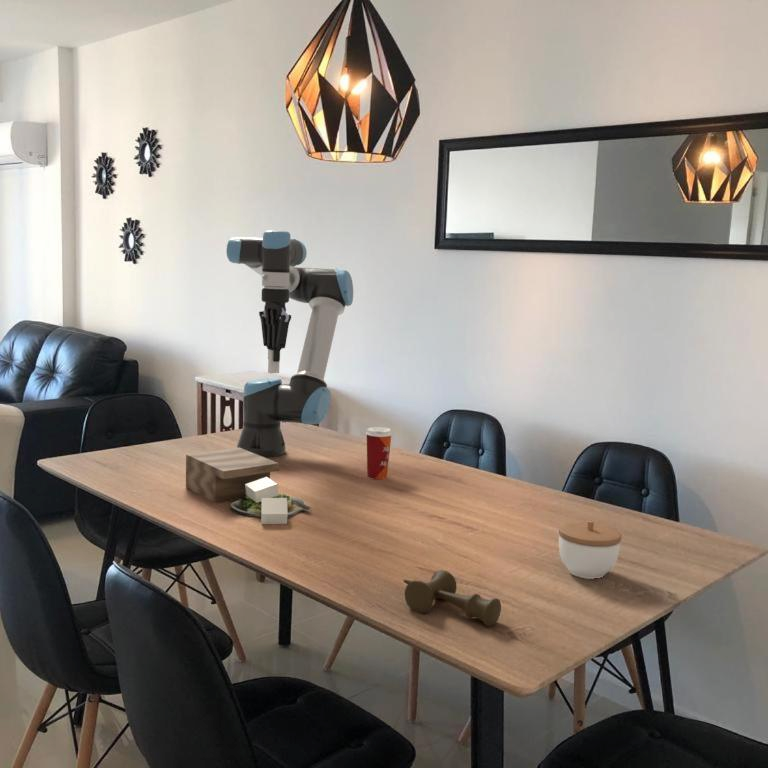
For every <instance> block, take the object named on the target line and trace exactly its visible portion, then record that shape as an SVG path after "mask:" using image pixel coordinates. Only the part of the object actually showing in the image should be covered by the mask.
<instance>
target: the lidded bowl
mask: <svg viewBox="0 0 768 768" xmlns="http://www.w3.org/2000/svg"><path fill="white" fill-rule="evenodd" d="M622 535H623V534H622V533H621V532H620V531H619V530H618V528H615V527H613V526H610V525H608V524H604V523H600V522H595V521H593V520H588V521H586V520H584V521H582V520H573V521H568V522H564V523H562V524H561V525H560V526H559V527H558V550H559V557H560V559H561V561H562V562H563V565H564V566H565V567H566V568H567V569H568V572H569V574H571V575H573V577H574V576H575V577H576V578H582V579H586V580H595V579H594V578H599V579H601V578H600V577H602V578H604V577H605V575H606V574H607V573H609V572H610V571H611V570H612V569H613V568H614V566H615V565H616V563H617V561H618V557H619V554H620V550H621V549H620V547H621V541H622ZM603 576H604V577H603Z"/></svg>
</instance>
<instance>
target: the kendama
mask: <svg viewBox="0 0 768 768" xmlns="http://www.w3.org/2000/svg"><path fill="white" fill-rule="evenodd" d="M431 576H432V577H431V578H430V579H431V580H430V581H429V582H424V581H421V580H417V579H414V580H409V579H403V583H405V584H406V587H405V590H404V599H405V602H406V605H407V606H408V607H409V609H410V610H411V611H413V612H415V613H418V614H421V615H423V614H425V613H428V612H429V611H430V610H431V609H432V606H433V603H434V600H436V599H440V600H444V601H446V602H448V603H450V604H452V605H453V606H455V607H457V608H458V609H460V610H462V611H464V613H465V615H466V617H467V618H469V619H472V618H476V619H479V620H481V621H482V622H483V624H484V626H485V627H487V628H491V627H493V626H495V625H496V623H497V622H498V620H499V618H500V616H501V612H502V604H501V601H500V600H501V599H499V598H492V599H485V598H483V597H481V595H480V594H478V593H474V594H472V595H467V594H466V595H465V594H460V593H456V592H457V581H456V578H455V577H454V576H453V575H452V573H451V572H448V571H447V570H443V569H440V570H439V569H438V570H437V571H434V573H433V575H431Z"/></svg>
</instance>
